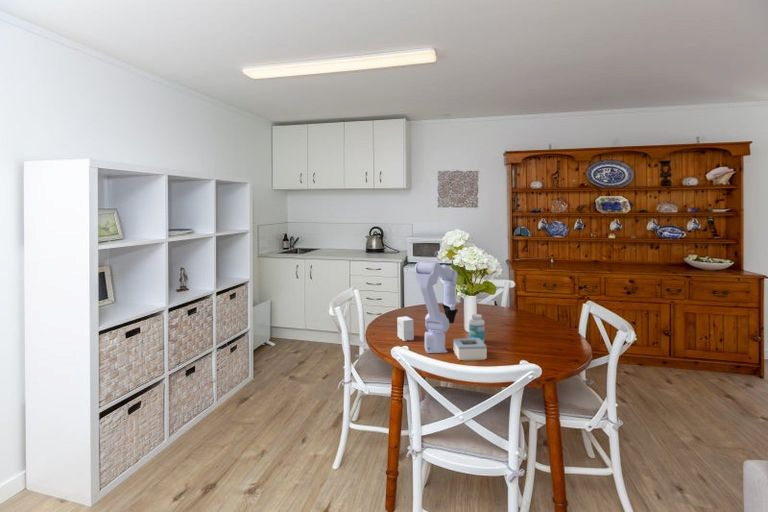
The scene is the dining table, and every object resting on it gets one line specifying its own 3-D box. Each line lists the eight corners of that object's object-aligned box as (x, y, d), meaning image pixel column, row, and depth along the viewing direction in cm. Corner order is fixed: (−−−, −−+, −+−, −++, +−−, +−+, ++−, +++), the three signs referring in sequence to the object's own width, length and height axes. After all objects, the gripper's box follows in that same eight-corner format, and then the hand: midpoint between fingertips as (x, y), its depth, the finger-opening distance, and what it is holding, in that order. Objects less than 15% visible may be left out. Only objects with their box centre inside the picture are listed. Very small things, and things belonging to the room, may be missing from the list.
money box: (458, 360, 180) (459, 347, 179) (453, 351, 192) (453, 338, 191) (486, 359, 180) (486, 346, 180) (479, 350, 192) (479, 337, 192)
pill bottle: (465, 341, 207) (466, 314, 205) (478, 339, 209) (479, 312, 208) (474, 345, 200) (474, 317, 198) (487, 343, 202) (487, 316, 201)
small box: (413, 340, 209) (413, 319, 208) (403, 341, 207) (403, 320, 206) (407, 335, 217) (407, 315, 216) (397, 337, 215) (397, 317, 214)
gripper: (461, 296, 196) (461, 324, 198) (454, 290, 211) (454, 316, 212) (446, 297, 196) (446, 325, 198) (440, 290, 210) (441, 317, 212)
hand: (449, 320), depth 205 cm, fingers open, 7 cm apart
